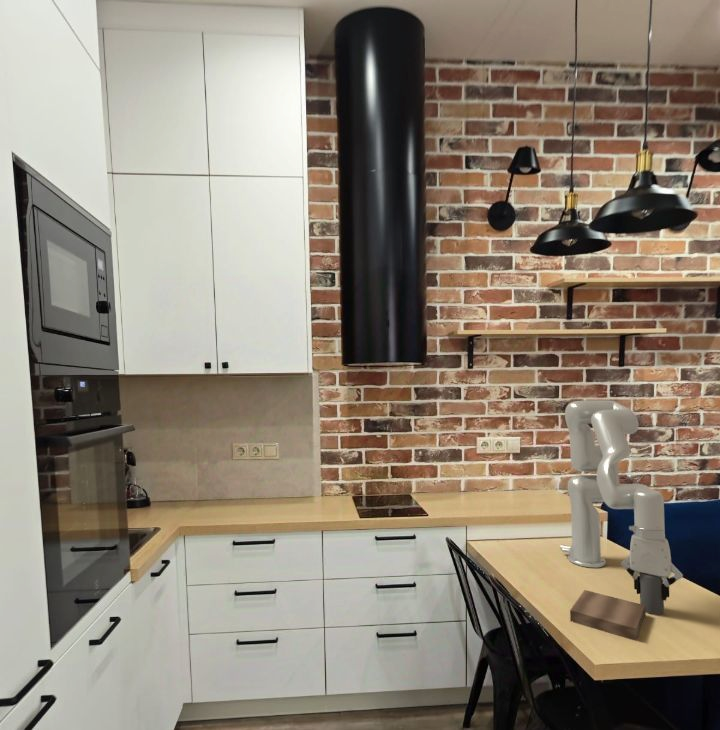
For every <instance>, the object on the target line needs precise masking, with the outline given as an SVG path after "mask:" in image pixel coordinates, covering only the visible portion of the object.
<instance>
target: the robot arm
mask: <svg viewBox="0 0 720 730" xmlns="http://www.w3.org/2000/svg"><path fill="white" fill-rule="evenodd" d="M564 420H565V423H566V425H567V426H566V427H567V429H568V433H569V447H570V449H569V450H570V451H569V452H570V463H571V467H572V468H573V469H574V470H575V471H577V472H585V473H586V472H589V473H590V472H596V474H580V475H579V474H578V475H574V476H572V477H570V478H569V479H568V481H567V492H568V495H569V503H570V512H571V513H570V516H571V517H570V519H571V520H570V521H571V545H569V546H568V545H565V544H560V550H561V551H562V553H568V555H567V560H568V561H569V562H571V563H573V564H575V565H577V566H580V567H585V568H602V567H604V566H606V563H607V561H606V559H605V558H604V557H602V555H601V549H602V548H601V547H602V546H601V521H600V513H599V511H598V509H597V508H596V506H595V505H594V504H593V502H604V504H605V505H606V506H607V507H608V508H610V509H613V510H633V513H634V516H633V517H634V520H633V522H634V525H629V526H628V530H629V531H631V532H633V534H632V535H631V539H630V545H629V546H630V547H629V556H627V557H626V558H625V559H624V560H622V561H621V563H620V565H621V566H622V567H623V568H624V569H625V570H626V571H627V573H628V575H630V576H631V577H632V579H633V588H634V590H636V595H640V579H639V573H645V574H649V575H654V576H659V577H661V578H662V580H663V586H662V591H663V600H664V602H666V601H667V598H670V586H671V585H672V584H675V583H676V582H678V581H679V580H681V579H682V578H683V576H684V574H683V573H682V572H681V571H680V570H679V569H678V568H677V567H676V566H675V565H674V564H673V563H672V557H671V548H670V545H669V541H668V539H667V538H666V533H665V532H666V531H665V530H666V529H665V528H666V527H665V503H664V502H665V500H664V499H665V498H664V495H663V494H662V493H661V492H660V491H658V490H655V489H651V487H649V486H648V485H646V484H643V483H620V480H619V479H620V477H619V474H620V473H619V462H620V461H622V460H625V459H626V458H628V457H629V456H630V455H631V453H632V449H631V446H630V445H629V442H628V439H627V437H626V435H634V434H635V433H636V432H637V431H638V429H639V425H640V424H639V420H638V417H637V415H636V414H635V413H634V412H633V411H632V410H631V409H630V408H628V407H626V406H624V405H623V404H620V403H619V402H617V401H615V400H606V399H605V400H602V399H599V400H597V399H596V400H595V399H593V400H591V399H589V400H588V399H586V400H583V399H582V400H574V401H572V402H569V404H567V405H566V406H565V412H564ZM589 424H591V426H592V428H591V426H590V425H589ZM595 437H596V438H595ZM595 441H597V443H598V445H596V442H595ZM672 573H673V576H671V575H672Z"/></svg>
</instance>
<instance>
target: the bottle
mask: <svg viewBox="0 0 720 730" xmlns="http://www.w3.org/2000/svg"><path fill="white" fill-rule="evenodd" d="M639 579H640V594H639V601H640V603H639V604H642V605H645V611H646V614H650V615H653V616H661V615H664V614H665V600H663V591H662V586H663V580H662V578H661V577H659V576H654V575H649V574H645V573H639Z"/></svg>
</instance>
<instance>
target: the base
mask: <svg viewBox="0 0 720 730" xmlns="http://www.w3.org/2000/svg"><path fill="white" fill-rule="evenodd" d="M646 614H647V612H646V611H645V605H642V604H640V603H637V602H634V601H629V600H625V599H622V598H618V597H614V596H610V595H605V594H604V593H603V594H602V593H597V592H594V591H589V590H586V589H584V590H583V591H582V593H581V594H580V595H579V597H578V599H577V600H576V601H575V603H574V604H573V605H572V607H571V608H570V609H569V617H570V618H569V619H570V621H569V622H572V621H573V622H572V623H576V624H578V623H579V625H582V626H585V627H588V628H593V629H595V630H599V631H603V632H606V633H609V634H613V635H616V636H619V637H623V638H626V639H629V640H633V641H635V642H636V641H637V640H638V638H639V635H640V632H641V630H642V626H643V624H644V623H645V619H646V616H647V615H646Z"/></svg>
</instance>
